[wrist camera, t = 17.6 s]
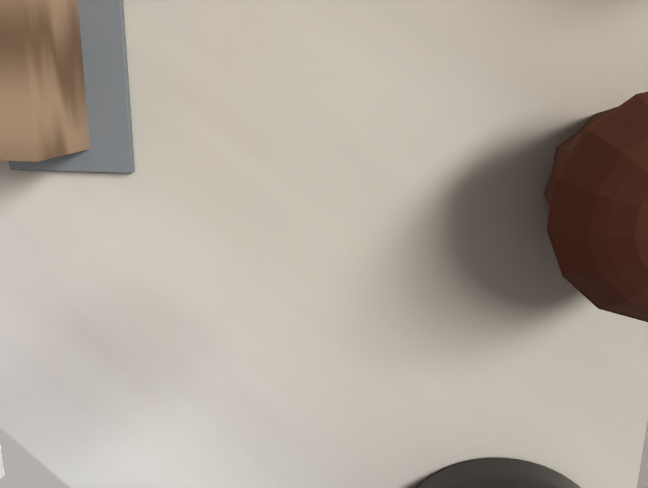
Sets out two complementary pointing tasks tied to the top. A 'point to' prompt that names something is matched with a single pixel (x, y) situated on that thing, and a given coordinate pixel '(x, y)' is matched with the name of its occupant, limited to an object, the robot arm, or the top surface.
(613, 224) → the muffin
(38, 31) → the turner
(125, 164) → the tool mat
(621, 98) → the top surface
